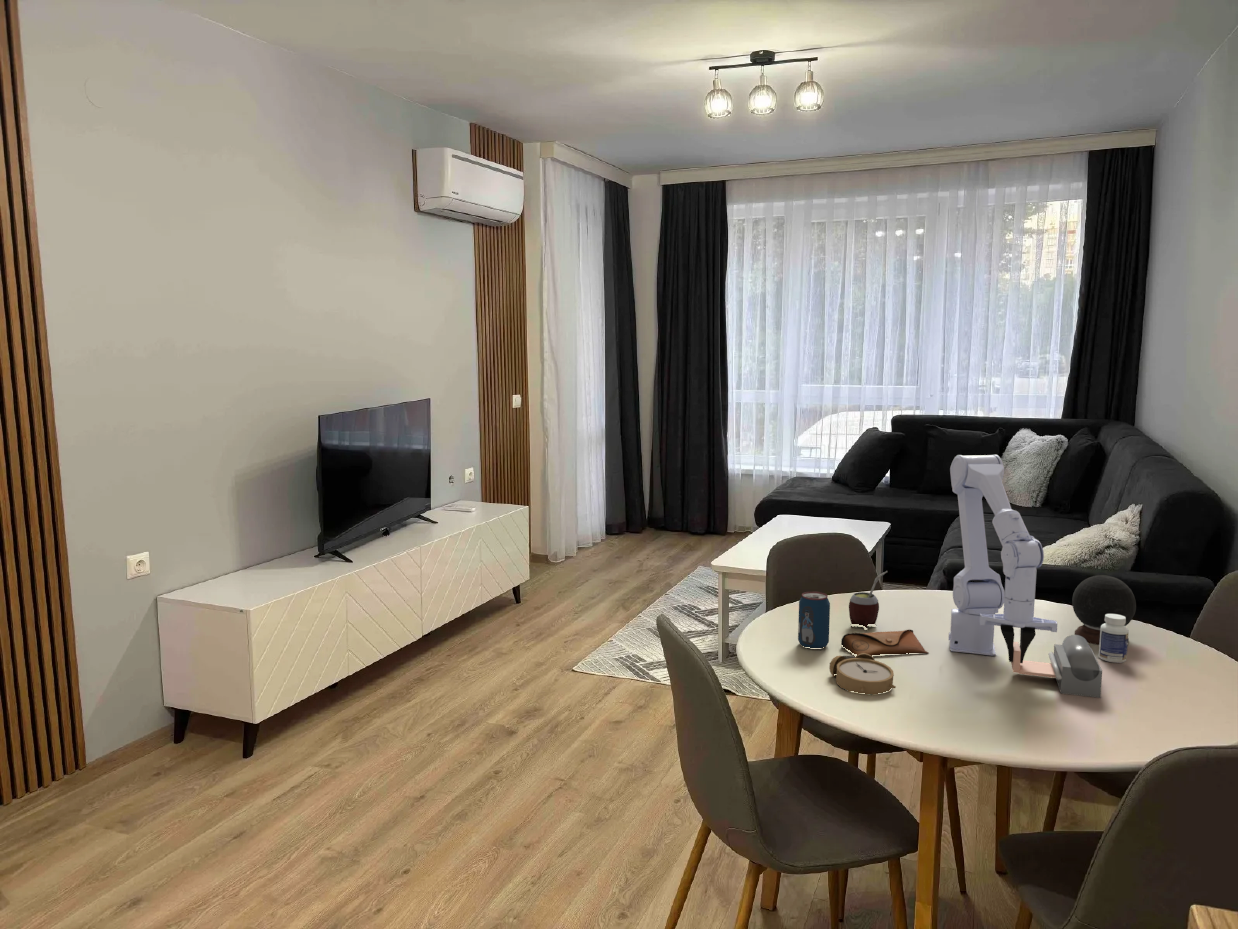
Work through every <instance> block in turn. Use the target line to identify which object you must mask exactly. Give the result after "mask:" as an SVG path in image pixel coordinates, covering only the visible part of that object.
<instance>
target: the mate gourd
mask: <svg viewBox="0 0 1238 929" xmlns="http://www.w3.org/2000/svg"><path fill="white" fill-rule="evenodd" d="M887 573H888V570H886V571H884V572H882V573H880V574H878V575H877V576H876V577H875V578H874V581H873V585H872V587H871V588H870V591H869V592H863V591H861V592H860V591H859V592H855V593H853V594H852V596H851V597H850V598H849V602H848V612H849V619H850V625H851V624H859V625H863V626H865V627H866V628H868V627H867V625H868V624H875V625H876V622H877V619H878V617H879V616H878V615H879V611H880V603H879V599H878V597H877V596H876V595H875V594H874V593H873V592H874V590H875V587H876V585H877V584H878V581H879V579H880V578H882V576H884V575H885V574H887Z"/></svg>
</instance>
